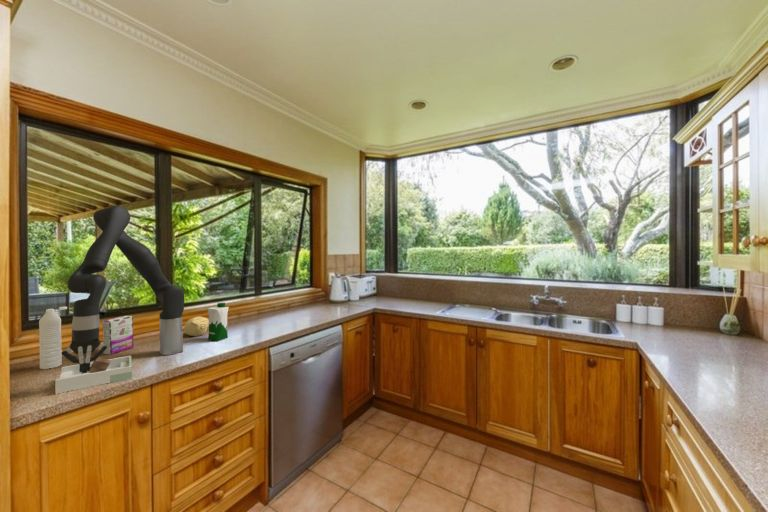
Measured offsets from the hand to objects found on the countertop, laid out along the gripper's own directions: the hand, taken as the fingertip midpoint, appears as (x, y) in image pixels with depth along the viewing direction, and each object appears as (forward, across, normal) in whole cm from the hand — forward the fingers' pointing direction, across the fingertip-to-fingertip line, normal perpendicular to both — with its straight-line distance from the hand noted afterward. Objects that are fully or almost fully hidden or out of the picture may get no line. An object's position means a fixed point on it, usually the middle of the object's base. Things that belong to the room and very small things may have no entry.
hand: (84, 372), depth 118 cm
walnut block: (0, -3, 0) cm, 3 cm away
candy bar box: (+4, -9, -40) cm, 41 cm away
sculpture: (+3, -44, -49) cm, 66 cm away
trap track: (+4, -4, -3) cm, 6 cm away
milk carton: (+3, -52, -33) cm, 62 cm away
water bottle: (+5, +12, -32) cm, 34 cm away
